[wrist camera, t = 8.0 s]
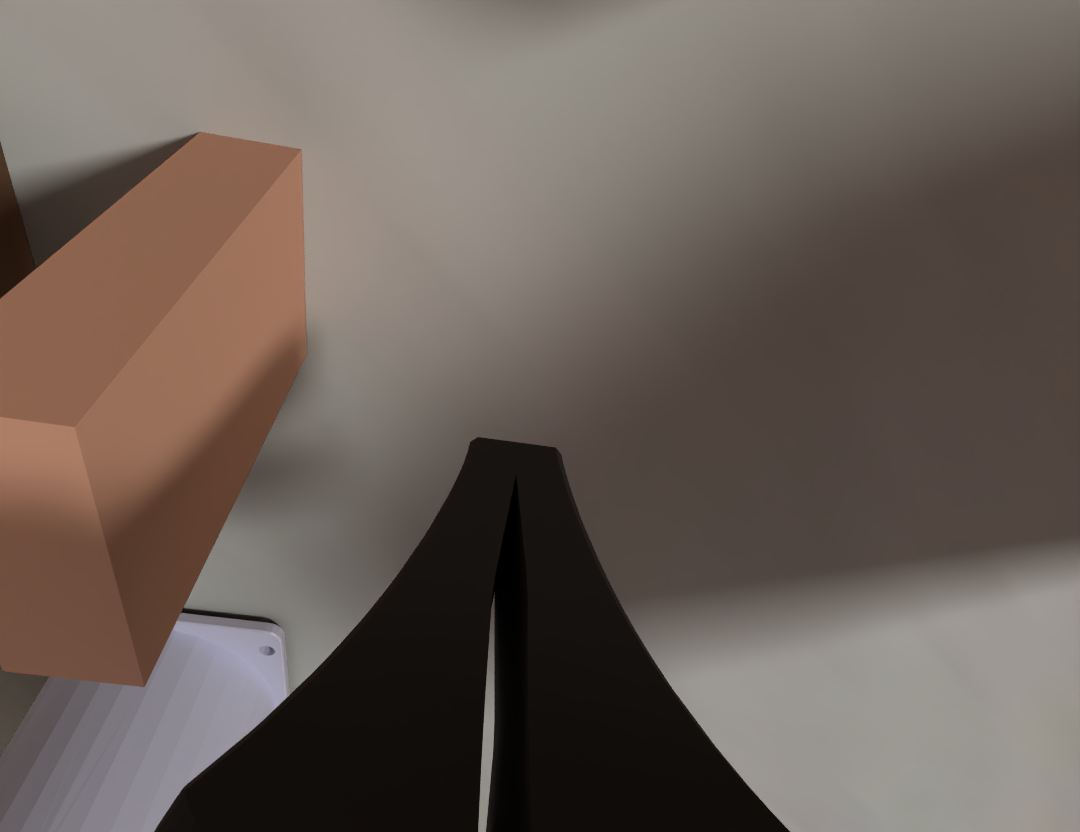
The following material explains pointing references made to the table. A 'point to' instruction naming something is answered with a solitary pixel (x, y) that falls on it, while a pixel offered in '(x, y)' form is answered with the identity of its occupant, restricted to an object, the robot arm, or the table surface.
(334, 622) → the table surface
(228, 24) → the table surface
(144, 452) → the domino
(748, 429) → the table surface
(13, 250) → the domino
